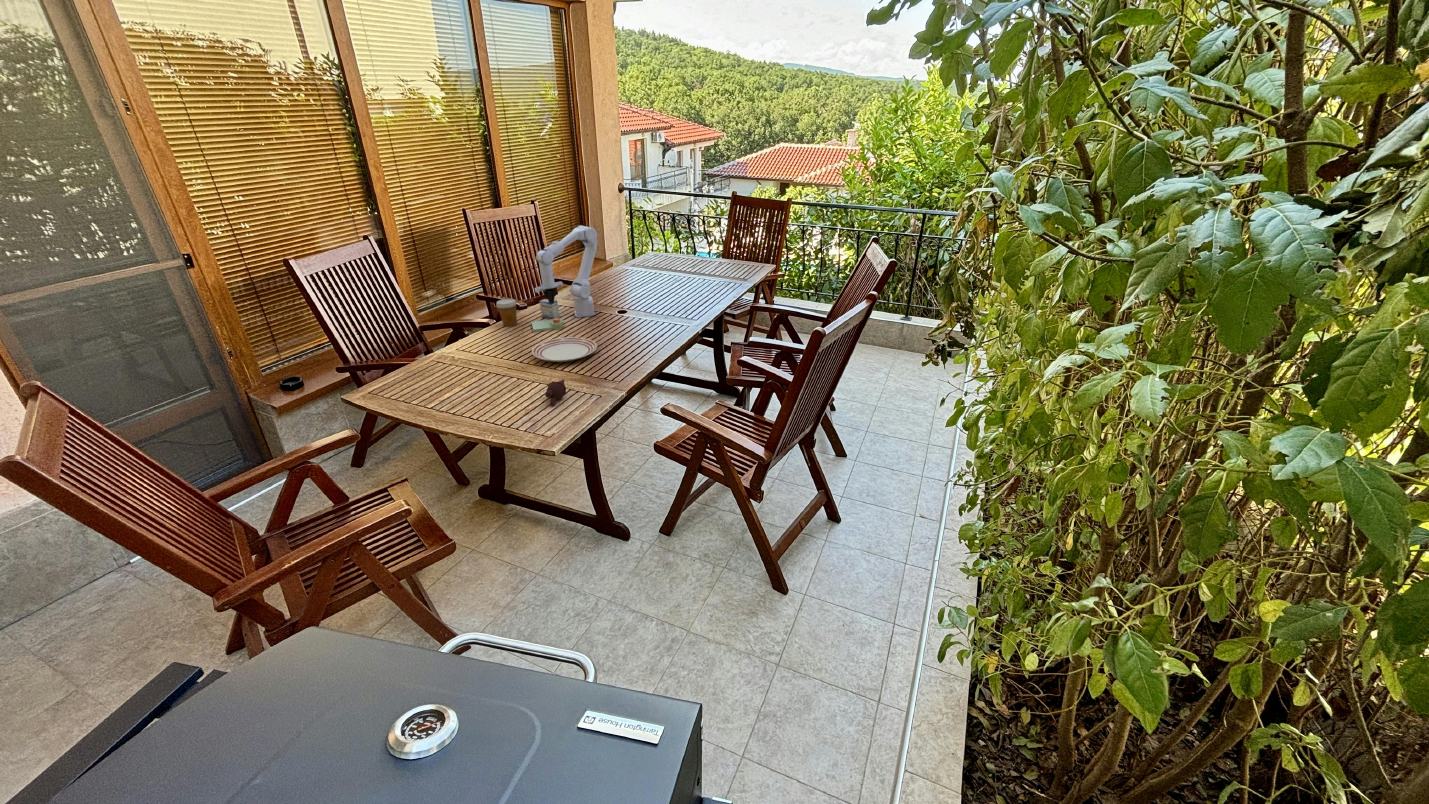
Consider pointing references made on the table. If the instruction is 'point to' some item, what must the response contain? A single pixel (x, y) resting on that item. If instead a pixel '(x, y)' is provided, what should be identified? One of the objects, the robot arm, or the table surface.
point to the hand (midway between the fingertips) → (551, 303)
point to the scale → (546, 325)
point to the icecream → (555, 391)
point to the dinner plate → (564, 349)
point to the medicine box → (549, 309)
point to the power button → (556, 320)
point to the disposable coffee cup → (507, 312)
